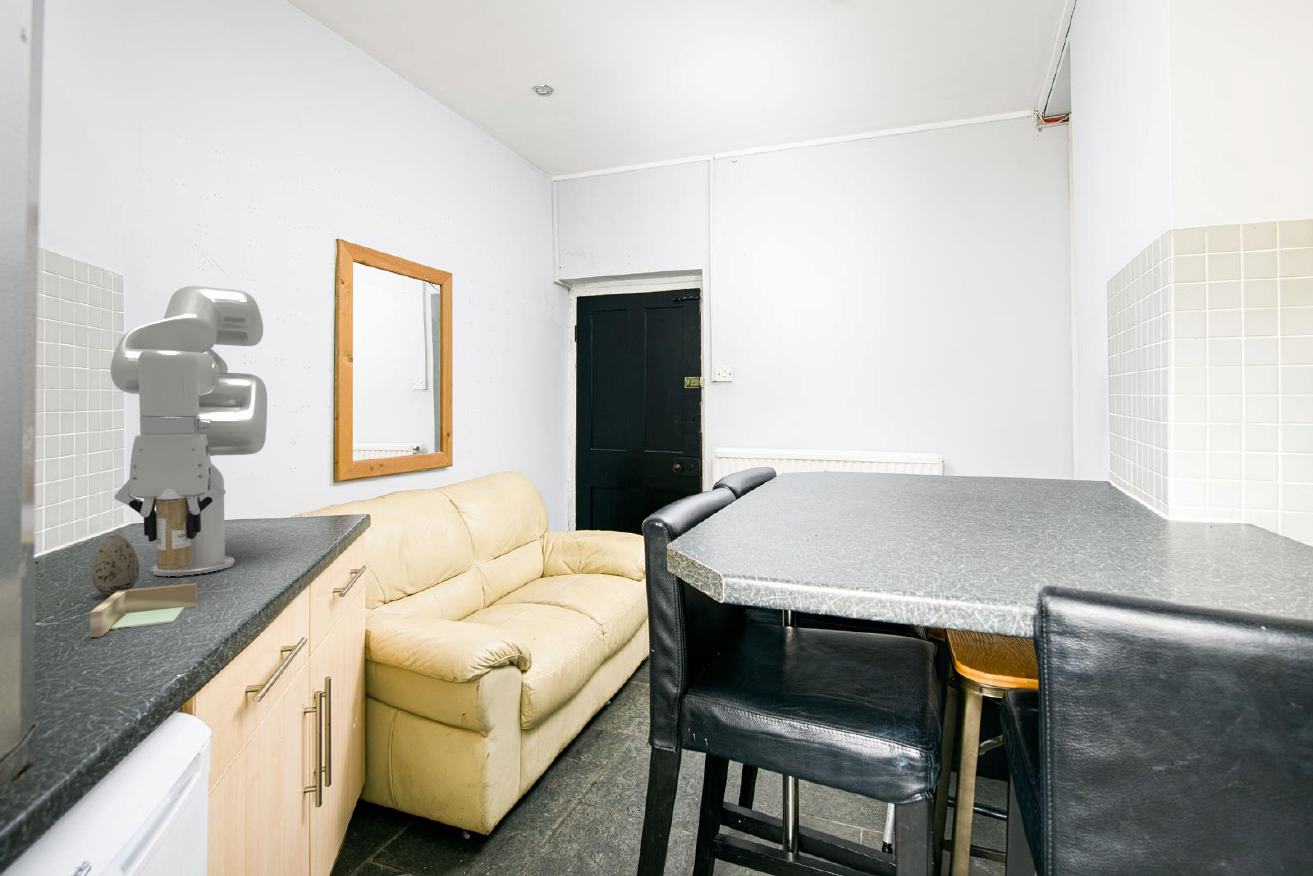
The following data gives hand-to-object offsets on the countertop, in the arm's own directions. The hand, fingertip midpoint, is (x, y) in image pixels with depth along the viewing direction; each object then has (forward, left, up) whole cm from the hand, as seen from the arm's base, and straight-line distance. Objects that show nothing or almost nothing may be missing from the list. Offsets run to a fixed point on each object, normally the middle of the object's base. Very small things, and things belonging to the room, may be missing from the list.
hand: (173, 537), depth 99 cm
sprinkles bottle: (0, 0, -5) cm, 5 cm away
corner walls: (+12, -1, -10) cm, 15 cm away
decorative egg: (-6, -9, -10) cm, 15 cm away
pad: (+11, -1, -10) cm, 15 cm away
